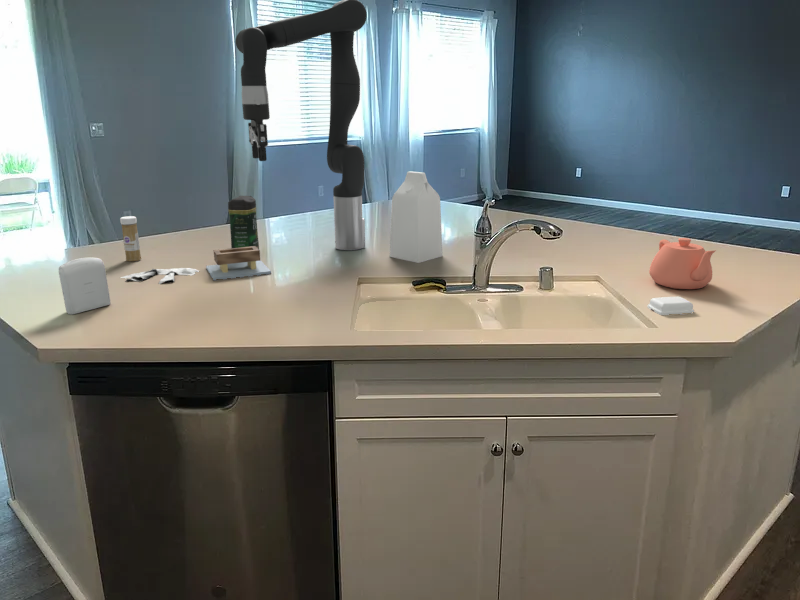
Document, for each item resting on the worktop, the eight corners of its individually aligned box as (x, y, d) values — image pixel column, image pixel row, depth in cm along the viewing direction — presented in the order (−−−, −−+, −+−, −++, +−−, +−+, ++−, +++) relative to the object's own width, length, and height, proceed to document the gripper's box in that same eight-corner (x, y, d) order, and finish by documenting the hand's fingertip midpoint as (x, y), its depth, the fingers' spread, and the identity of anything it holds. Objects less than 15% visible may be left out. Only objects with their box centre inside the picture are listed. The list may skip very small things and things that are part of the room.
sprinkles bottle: (123, 262, 196) (117, 218, 192) (129, 258, 201) (123, 215, 196) (138, 261, 196) (132, 218, 192) (144, 258, 201) (138, 215, 197)
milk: (442, 256, 201) (443, 172, 193) (418, 263, 193) (418, 175, 185) (414, 250, 209) (414, 169, 201) (389, 256, 201) (388, 172, 193)
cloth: (209, 271, 188) (208, 263, 187) (169, 293, 168) (168, 284, 167) (146, 268, 192) (145, 260, 191) (100, 289, 172) (98, 280, 171)
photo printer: (71, 316, 149) (62, 264, 145) (62, 312, 151) (53, 261, 148) (113, 305, 156) (106, 255, 152) (105, 301, 159) (97, 253, 155)
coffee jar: (254, 258, 199) (249, 198, 194) (229, 258, 200) (223, 198, 194) (262, 251, 209) (258, 194, 203) (238, 251, 209) (233, 193, 203)
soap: (660, 317, 146) (661, 305, 146) (644, 307, 153) (646, 296, 152) (696, 314, 148) (698, 302, 147) (679, 305, 154) (681, 294, 153)
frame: (256, 255, 189) (255, 245, 188) (260, 260, 184) (259, 250, 183) (214, 260, 185) (213, 250, 184) (217, 265, 179) (216, 254, 179)
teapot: (734, 295, 161) (742, 247, 157) (680, 299, 158) (686, 250, 154) (680, 272, 181) (686, 229, 177) (632, 275, 178) (637, 232, 175)
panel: (260, 262, 195) (259, 252, 194) (271, 273, 182) (270, 262, 181) (206, 268, 188) (205, 257, 187) (213, 280, 176) (212, 269, 175)
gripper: (237, 102, 190) (242, 158, 195) (247, 103, 178) (251, 162, 183) (262, 102, 193) (266, 157, 198) (274, 102, 181) (277, 161, 186)
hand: (259, 159), depth 191 cm, fingers open, 8 cm apart
